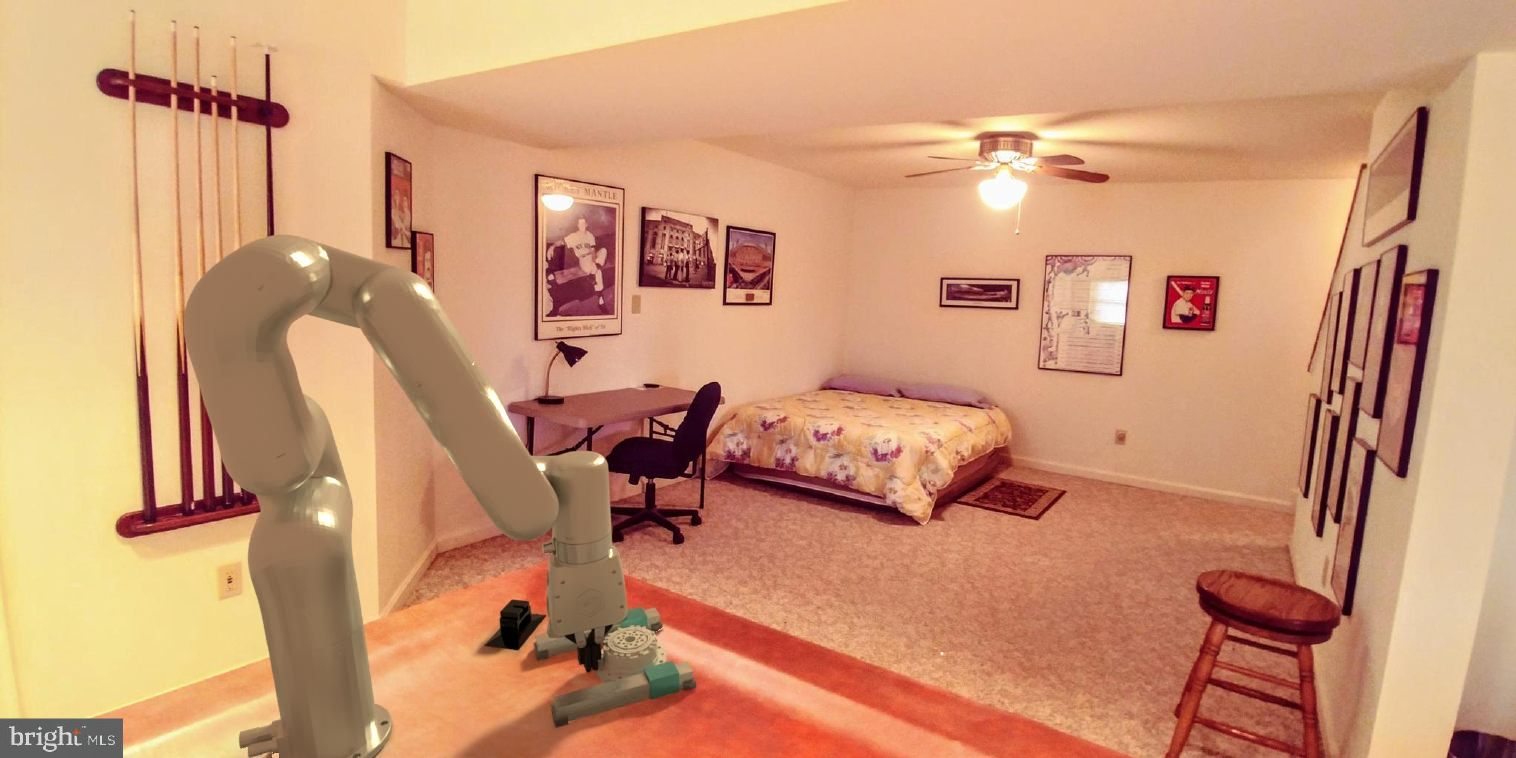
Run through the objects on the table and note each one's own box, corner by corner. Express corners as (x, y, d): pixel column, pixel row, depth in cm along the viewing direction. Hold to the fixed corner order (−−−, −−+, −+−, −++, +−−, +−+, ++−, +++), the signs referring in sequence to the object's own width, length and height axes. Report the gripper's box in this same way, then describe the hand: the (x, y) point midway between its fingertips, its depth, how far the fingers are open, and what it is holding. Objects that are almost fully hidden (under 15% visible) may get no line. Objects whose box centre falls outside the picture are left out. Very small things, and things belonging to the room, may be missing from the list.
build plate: (518, 660, 106) (516, 631, 105) (472, 654, 107) (469, 626, 106) (556, 613, 118) (554, 587, 116) (514, 608, 119) (512, 583, 118)
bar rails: (555, 727, 91) (553, 707, 91) (533, 648, 107) (532, 631, 107) (696, 687, 99) (695, 668, 98) (656, 619, 115) (656, 602, 114)
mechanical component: (583, 685, 100) (654, 693, 98) (582, 656, 99) (653, 664, 97) (610, 642, 109) (675, 649, 108) (609, 616, 108) (674, 623, 107)
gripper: (528, 568, 91) (538, 697, 95) (645, 545, 97) (650, 667, 101) (520, 543, 98) (530, 664, 102) (630, 523, 104) (635, 638, 108)
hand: (590, 665), depth 102 cm, fingers closed
